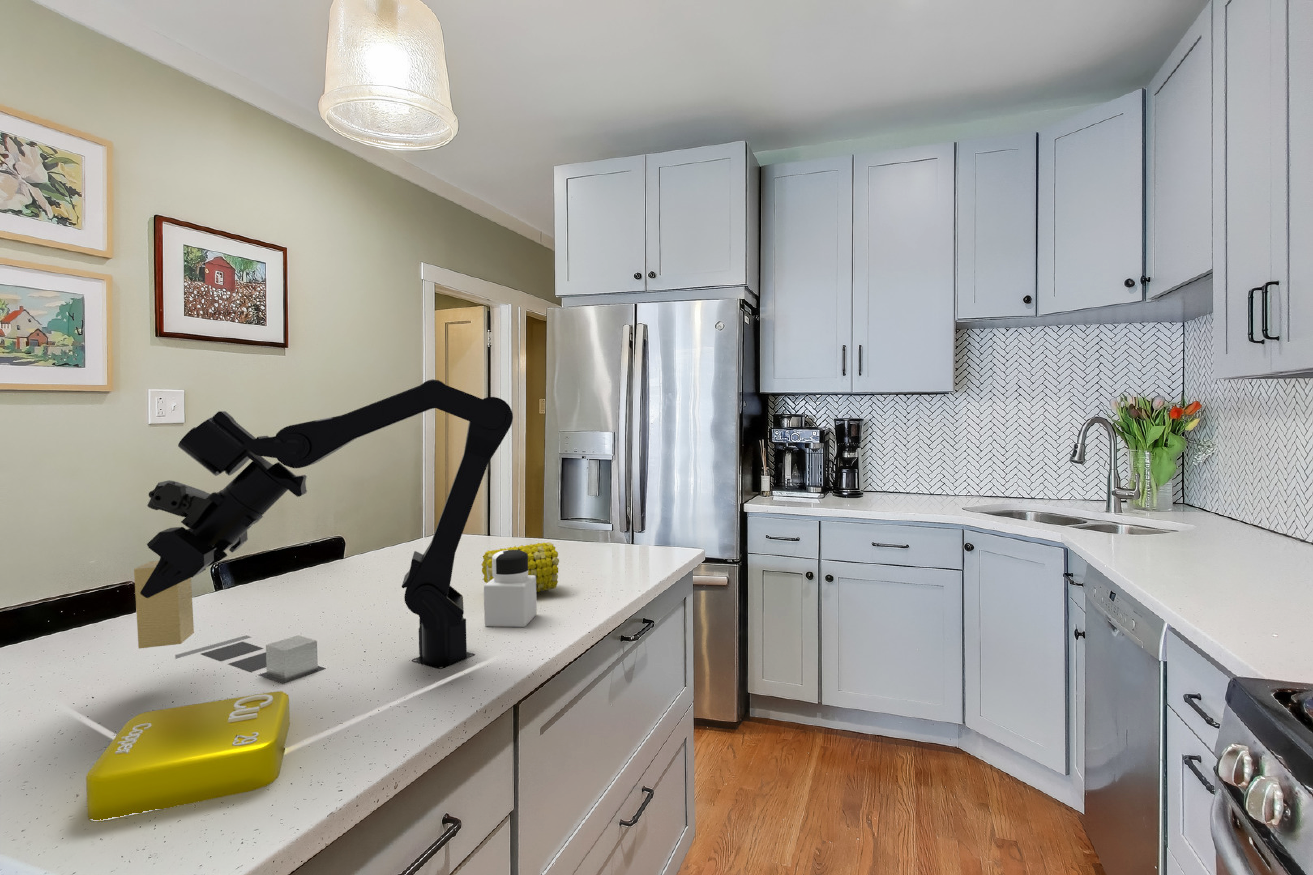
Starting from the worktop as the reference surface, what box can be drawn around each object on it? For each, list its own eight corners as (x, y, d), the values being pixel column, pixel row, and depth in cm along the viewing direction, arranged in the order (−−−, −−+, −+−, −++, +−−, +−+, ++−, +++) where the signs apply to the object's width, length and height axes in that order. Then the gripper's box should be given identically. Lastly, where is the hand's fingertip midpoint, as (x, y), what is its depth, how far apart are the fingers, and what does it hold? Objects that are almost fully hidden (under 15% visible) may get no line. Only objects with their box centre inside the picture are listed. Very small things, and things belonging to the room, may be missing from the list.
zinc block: (317, 669, 91) (316, 640, 91) (285, 680, 87) (284, 650, 87) (299, 663, 94) (298, 635, 94) (266, 673, 90) (265, 644, 90)
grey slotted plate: (343, 669, 93) (343, 664, 93) (271, 695, 84) (271, 690, 84) (246, 638, 106) (246, 634, 106) (175, 658, 98) (175, 654, 98)
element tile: (134, 751, 71) (132, 708, 71) (291, 724, 77) (290, 683, 77) (79, 831, 58) (77, 777, 57) (276, 789, 64) (275, 741, 63)
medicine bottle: (537, 614, 117) (535, 547, 117) (525, 627, 110) (523, 556, 110) (498, 613, 118) (496, 547, 118) (483, 626, 111) (482, 555, 110)
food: (478, 606, 123) (476, 552, 123) (483, 589, 135) (482, 540, 134) (560, 601, 126) (559, 548, 125) (558, 585, 137) (558, 537, 137)
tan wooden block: (194, 632, 88) (189, 558, 87) (180, 643, 84) (176, 565, 83) (153, 637, 86) (149, 561, 86) (138, 648, 82) (134, 569, 82)
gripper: (217, 454, 94) (130, 537, 91) (163, 463, 76) (52, 566, 74) (282, 505, 97) (199, 587, 94) (244, 525, 79) (140, 627, 76)
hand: (152, 590), depth 84 cm, fingers closed on tan wooden block, 4 cm apart
